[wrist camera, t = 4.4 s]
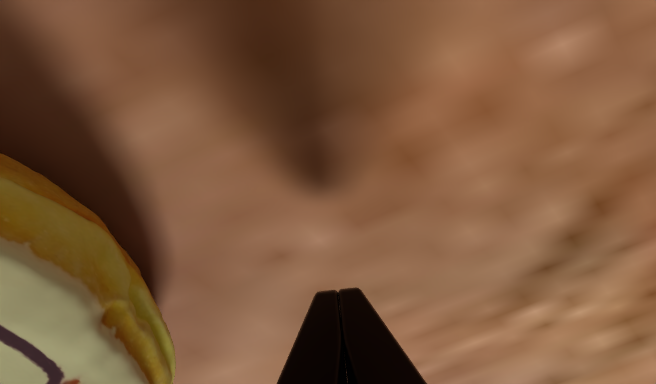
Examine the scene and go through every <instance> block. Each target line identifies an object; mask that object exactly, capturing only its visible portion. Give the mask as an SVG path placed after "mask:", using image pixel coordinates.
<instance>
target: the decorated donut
mask: <svg viewBox="0 0 656 384" xmlns="http://www.w3.org/2000/svg"><path fill="white" fill-rule="evenodd" d="M175 369H176V361H175V350H174V345H173V342H172V339H171V336H170V333H169V330H168V328H167V325H166V323H165V322H164V320H163V318H162V314H161V312H160V310H159V308H158V307H157V305H156V303H155V301H154V299H153V297H152V296H151V293H150V291H149V289H148V288H147V286H146V284H145V282H144V280H143V279H142V277H141V272H140V270H139V268H138V267H137V265H136V264H135V263H134V262H133V260H132V258H131V257H130V256H129V255H128V254H127V252H126V250H125V249H123V248H122V247H121V246H120V245H119V244H118V243H117V241H116V240H115V238H114V236H113V235H112V234H110V232H109V231H108V229H107V227H106V226H105V224H104V223H103V222H102V220H101V219H100V218H99V217H98V216H97V215H96V214H95V213H93V212H92V211H91V210H89V209H88V208H87V207H85V206H84V205H82V204H81V203H79V202H78V201H77V200H75V199H74V198H72V197H71V196H70V195H69V194H67V193H66V192H65V191H64V190H62V189H61V188H60V187H59V186H57V185H55V184H54V183H52V182H51V181H50V180H48V179H47V178H46V177H44V176H43V175H41V174H39V173H37V172H34V171H33V170H31V169H30V168H28V167H26V166H24V165H23V164H21V163H20V162H18V161H16V160H14V159H12V158H10V157H8V156H6V155H4V154H1V153H0V384H173V379H174V377H175Z"/></svg>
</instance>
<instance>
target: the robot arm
mask: <svg viewBox="0 0 656 384" xmlns="http://www.w3.org/2000/svg"><path fill="white" fill-rule="evenodd" d="M338 297H339V299H338ZM339 306H340V308H339ZM340 316H341V317H340ZM344 354H345V355H344ZM345 363H346V364H345ZM346 372H347V374H346ZM347 381H348V383H347ZM277 384H427V383H426V382H425V380H424V379H423V378H422V376H421V375H420V373H419V372H418V370H417V369H416V368H415V366H414V365H413V363H412V362H411V360H410V359H409V358H408V356H407V355H406V353H405V352H404V351H403V349H402V348H401V346H400V345H399V343H398V342H397V341H396V339H395V338H394V336H393V335H392V333H391V332H390V331H389V329H388V328H387V326H386V325H385V323H384V322H383V321H382V319H381V318H380V316H379V315H378V314H377V312H376V311H375V309H374V308H373V306H372V305H371V304H370V302H369V301H368V299H367V298H366V296H365V295H364V294H363V292H362V291H361V290H360V289H359V288H347V289H340V290H339V292H337V291H336V290H329V291H319V292H317V293H316V294H315V296H314V298H313V300H312V303H311V305H310V307H309V310H308V312H307V314H306V317H305V319H304V321H303V324H302V326H301V328H300V331H299V333H298V335H297V338H296V340H295V342H294V345H293V347H292V349H291V352H290V354H289V356H288V359H287V361H286V363H285V365H284V368H283V370H282V372H281V375H280V377H279V379H278V382H277Z"/></svg>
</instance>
